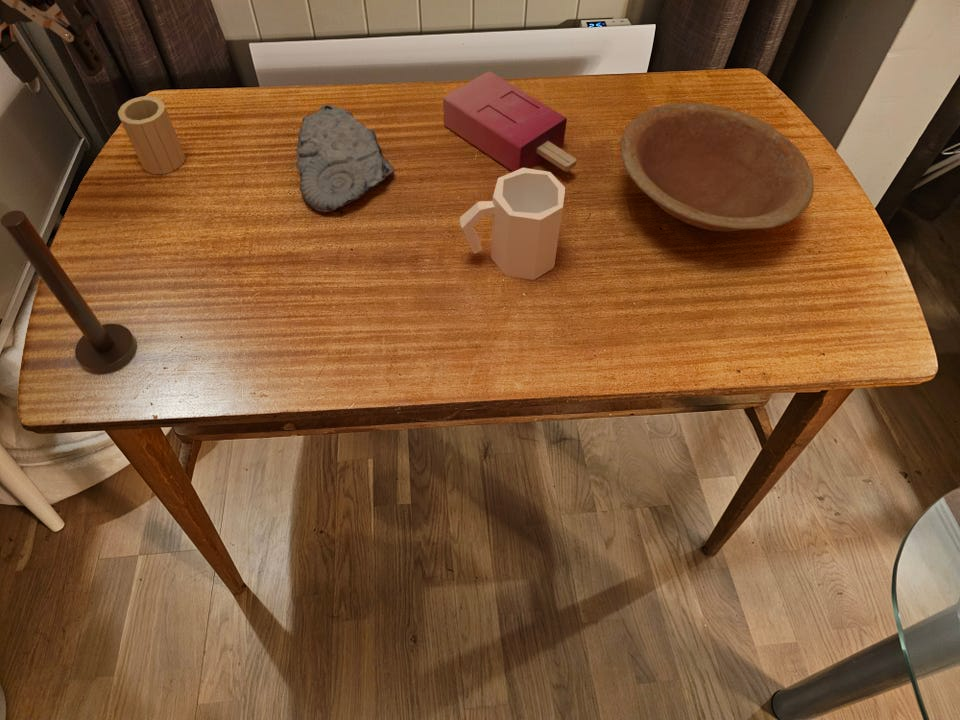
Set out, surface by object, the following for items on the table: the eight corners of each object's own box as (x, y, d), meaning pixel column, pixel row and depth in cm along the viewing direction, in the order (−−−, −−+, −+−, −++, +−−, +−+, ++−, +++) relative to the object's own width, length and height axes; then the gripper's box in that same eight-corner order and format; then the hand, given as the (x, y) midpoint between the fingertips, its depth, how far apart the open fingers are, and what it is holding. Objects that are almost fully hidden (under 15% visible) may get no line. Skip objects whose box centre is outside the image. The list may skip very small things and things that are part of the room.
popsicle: (550, 167, 89) (442, 96, 97) (547, 196, 93) (443, 126, 101) (598, 135, 93) (490, 69, 101) (592, 164, 97) (489, 99, 105)
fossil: (319, 226, 89) (313, 202, 86) (265, 146, 98) (258, 121, 94) (408, 190, 93) (406, 166, 90) (350, 116, 102) (346, 92, 98)
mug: (548, 225, 90) (556, 163, 82) (565, 275, 85) (575, 215, 77) (455, 237, 88) (453, 175, 80) (467, 289, 84) (467, 229, 76)
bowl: (805, 280, 85) (834, 233, 79) (608, 260, 87) (620, 212, 80) (782, 153, 99) (804, 103, 92) (611, 137, 100) (621, 87, 93)
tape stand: (85, 382, 75) (-22, 252, 59) (75, 341, 78) (-29, 207, 62) (142, 361, 77) (54, 229, 61) (130, 322, 80) (43, 186, 64)
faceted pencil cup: (147, 179, 94) (123, 128, 87) (138, 154, 96) (114, 103, 90) (189, 166, 95) (169, 116, 89) (179, 142, 98) (158, 91, 91)
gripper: (-139, -67, 63) (-10, 100, 75) (-16, -91, 59) (100, 89, 71) (-81, -98, 67) (32, 64, 79) (36, -123, 64) (136, 52, 76)
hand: (64, 76), depth 75 cm, fingers open, 8 cm apart
